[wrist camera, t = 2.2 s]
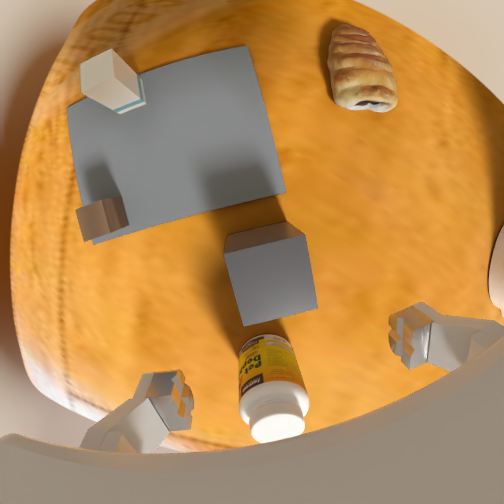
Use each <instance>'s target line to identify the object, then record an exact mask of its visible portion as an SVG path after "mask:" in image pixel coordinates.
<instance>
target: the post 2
mask: <svg viewBox="0 0 504 504" xmlns="http://www.w3.org/2000/svg"><path fill="white" fill-rule="evenodd" d="M76 214H77V218H78V222H79V225H80V229H81V233H82V236H83V240H84V242H85V241H88V240H91V239H94V238H97V237H100V236H103V235H106V234H109V233H112V232H114V231H116V230H119V229H121V228H124V227H126V226H129V222H128V218H127V214H126V211H125V207H124V203H123V199H122V197H116V198H109V199H102V200H99V201H96V202H94V203H91V204H89V205H86V206H84V207H81V208H79V209H76Z"/></svg>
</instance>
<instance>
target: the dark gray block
mask: <svg viewBox="0 0 504 504" xmlns="http://www.w3.org/2000/svg"><path fill="white" fill-rule="evenodd" d="M223 255H224V259H225V262H226V266H227V270H228V273H229V277H230V280H231V284H232V288H233V291H234V295H235V298H236V302H237V305H238V309H239V312H240V316H241V319H242V323H243V326H249V325H253V324H257V323H262V322H266V321H270V320H274V319H278V318H282V317H286V316H290V315H294V314H298V313H302V312H306V311H309V310H313V309H317V308H318V305H317V299H316V293H315V287H314V281H313V275H312V269H311V264H310V258H309V253H308V247H307V242H306V237H305V234H304V233H302V232H301V231H300V230H298V229H297V228H296V227H294V226H293V225H292V224H290V223H289V222H287V221H285V222H280V223H276V224H272V225H268V226H264V227H259V228H255V229H251V230H247V231H243V232H239V233H235V234H231V235H227V239H226V244H225V248H224V253H223Z"/></svg>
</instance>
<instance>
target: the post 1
mask: <svg viewBox="0 0 504 504" xmlns="http://www.w3.org/2000/svg"><path fill="white" fill-rule="evenodd" d="M80 79H81V93H82V94H84V95H86V96H87V97H89V98H91V99H93V100H95V101H97V102H99V103H101V104H102V105H104V106H106V107H108V108H110V109H111V110H113V111H114V112H117V113H119V114H122V113H124V112H127V111H129V110H132V109H134V108H137V107H140V106H142V105H145V104H146V99H145V93H144V87H143V81H142V79H141V78H140V76H139V75H138V74H136V73H135V72H134V71H133V70H132V69H131V68H130V66H129V65H128V64H127V63H126V62H125V61H124V60H123V59H122V58H121V57H120V56H119V55H118V54H117V53H116V52H115V51H114V50H113V49H112V48H111V49H109V50H107V51H105V52H103V53H101V54H99V55H97V56H95V57H93V58H91V59H89V60H87V61H85V62H83V63H81V64H80Z"/></svg>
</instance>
